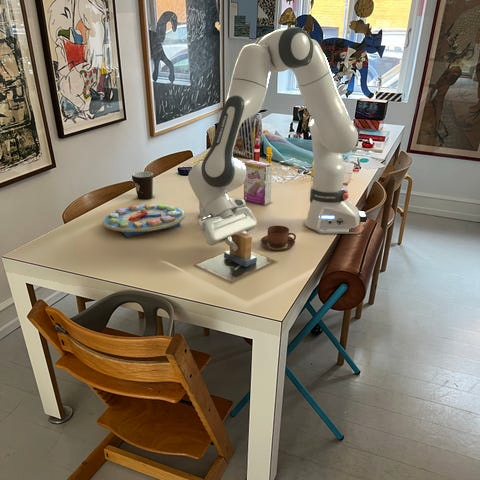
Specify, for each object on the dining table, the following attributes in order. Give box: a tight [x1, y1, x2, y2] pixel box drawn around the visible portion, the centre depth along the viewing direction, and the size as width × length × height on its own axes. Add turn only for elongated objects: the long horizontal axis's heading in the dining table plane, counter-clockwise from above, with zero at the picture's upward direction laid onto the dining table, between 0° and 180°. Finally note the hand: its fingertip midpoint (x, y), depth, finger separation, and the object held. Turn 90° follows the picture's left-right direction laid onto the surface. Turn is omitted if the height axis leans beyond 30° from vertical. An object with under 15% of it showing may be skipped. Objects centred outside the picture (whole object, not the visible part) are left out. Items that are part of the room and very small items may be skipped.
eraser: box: [223, 232, 257, 267], centre depth 153 cm, size 10×5×9 cm, turn 45°
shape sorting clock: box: [102, 203, 185, 238], centre depth 182 cm, size 31×30×6 cm
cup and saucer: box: [260, 225, 297, 251], centre depth 165 cm, size 12×12×6 cm
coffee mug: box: [131, 171, 154, 201], centre depth 209 cm, size 12×9×10 cm
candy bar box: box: [243, 159, 273, 206], centre depth 201 cm, size 11×5×16 cm, turn 53°
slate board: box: [195, 250, 275, 282], centre depth 154 cm, size 20×16×1 cm
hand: (242, 247), depth 153 cm, fingers closed on eraser, 3 cm apart
